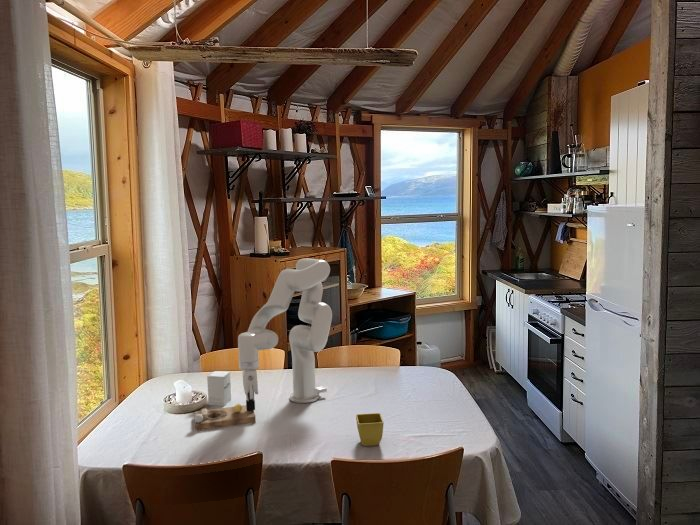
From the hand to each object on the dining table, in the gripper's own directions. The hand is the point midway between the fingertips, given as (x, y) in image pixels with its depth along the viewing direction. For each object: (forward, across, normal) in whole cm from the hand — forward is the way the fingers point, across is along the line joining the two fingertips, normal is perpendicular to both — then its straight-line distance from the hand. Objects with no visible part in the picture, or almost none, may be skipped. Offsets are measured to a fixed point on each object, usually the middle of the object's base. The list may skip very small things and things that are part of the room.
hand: (250, 409), depth 212 cm
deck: (+3, 0, +10) cm, 10 cm away
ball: (-1, 0, +5) cm, 5 cm away
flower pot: (+3, -37, -37) cm, 52 cm away
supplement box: (+3, +20, +11) cm, 23 cm away
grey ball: (-1, -5, +20) cm, 20 cm away
